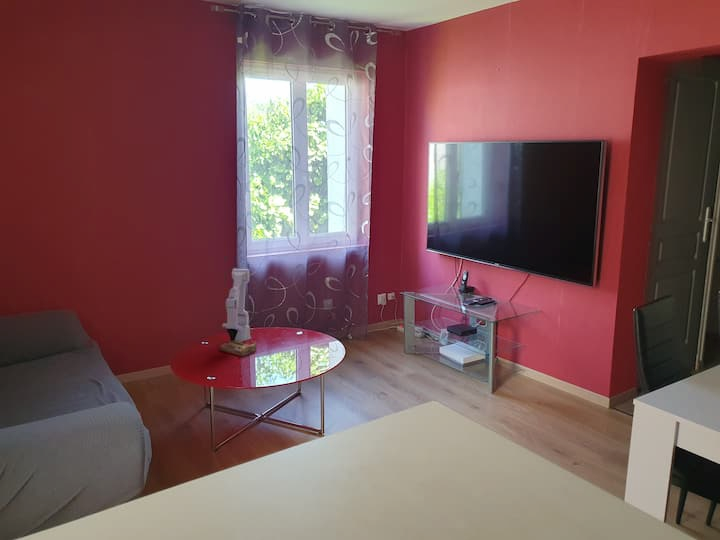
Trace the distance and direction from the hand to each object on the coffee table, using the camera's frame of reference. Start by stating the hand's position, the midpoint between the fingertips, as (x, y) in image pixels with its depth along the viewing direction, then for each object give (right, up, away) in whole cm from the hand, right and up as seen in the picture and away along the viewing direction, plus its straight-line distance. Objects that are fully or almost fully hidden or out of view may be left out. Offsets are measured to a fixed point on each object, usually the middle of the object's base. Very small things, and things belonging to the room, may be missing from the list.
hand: (233, 340), depth 328 cm
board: (+3, -6, -1) cm, 7 cm away
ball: (+6, -4, -3) cm, 8 cm away
